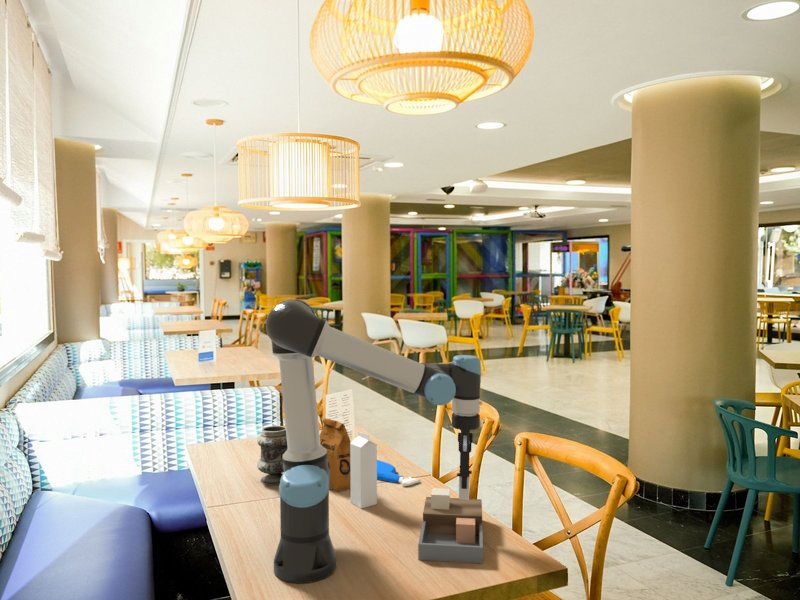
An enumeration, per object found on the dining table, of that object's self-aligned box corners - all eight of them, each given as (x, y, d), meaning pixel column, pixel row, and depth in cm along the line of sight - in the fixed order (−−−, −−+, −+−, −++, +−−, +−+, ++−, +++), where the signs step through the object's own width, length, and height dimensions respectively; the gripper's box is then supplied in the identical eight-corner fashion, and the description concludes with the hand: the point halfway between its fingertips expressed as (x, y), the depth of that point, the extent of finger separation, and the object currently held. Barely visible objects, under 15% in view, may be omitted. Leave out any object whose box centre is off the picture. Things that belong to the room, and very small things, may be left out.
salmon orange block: (475, 536, 163) (475, 543, 159) (456, 535, 163) (455, 542, 159) (475, 518, 162) (475, 524, 158) (456, 517, 163) (456, 524, 159)
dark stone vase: (290, 472, 216) (289, 422, 215) (295, 483, 204) (294, 431, 203) (255, 476, 212) (254, 425, 211) (259, 488, 200) (258, 434, 199)
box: (482, 563, 149) (483, 547, 149) (418, 559, 151) (418, 544, 151) (482, 538, 163) (482, 523, 163) (422, 535, 165) (422, 520, 165)
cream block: (449, 509, 167) (449, 495, 167) (431, 508, 168) (431, 494, 167) (449, 502, 172) (449, 488, 172) (432, 501, 173) (432, 488, 172)
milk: (361, 509, 183) (360, 437, 181) (350, 502, 188) (349, 432, 186) (377, 504, 186) (376, 433, 185) (366, 498, 191) (366, 429, 190)
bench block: (482, 538, 163) (482, 516, 163) (422, 535, 165) (422, 513, 164) (481, 519, 175) (481, 499, 174) (426, 517, 177) (426, 496, 176)
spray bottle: (353, 464, 216) (400, 483, 198) (376, 457, 224) (424, 475, 206) (353, 472, 216) (400, 491, 199) (376, 465, 224) (424, 483, 206)
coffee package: (333, 494, 194) (332, 427, 193) (313, 483, 204) (312, 419, 203) (358, 487, 201) (358, 422, 199) (338, 477, 210) (337, 415, 209)
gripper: (480, 419, 156) (477, 509, 157) (479, 408, 169) (477, 490, 170) (451, 418, 157) (449, 507, 158) (452, 406, 170) (450, 489, 171)
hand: (463, 498), depth 164 cm, fingers closed
